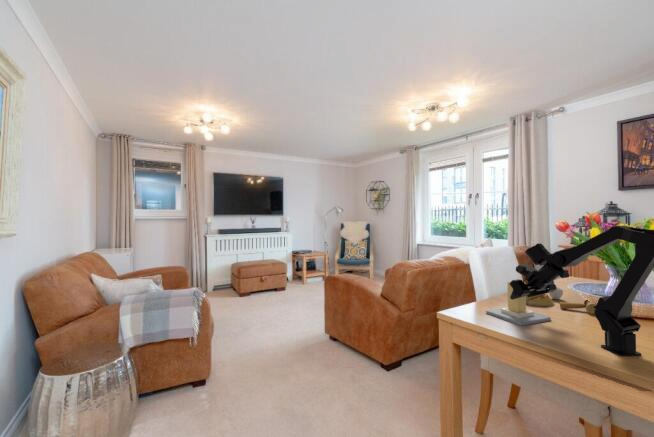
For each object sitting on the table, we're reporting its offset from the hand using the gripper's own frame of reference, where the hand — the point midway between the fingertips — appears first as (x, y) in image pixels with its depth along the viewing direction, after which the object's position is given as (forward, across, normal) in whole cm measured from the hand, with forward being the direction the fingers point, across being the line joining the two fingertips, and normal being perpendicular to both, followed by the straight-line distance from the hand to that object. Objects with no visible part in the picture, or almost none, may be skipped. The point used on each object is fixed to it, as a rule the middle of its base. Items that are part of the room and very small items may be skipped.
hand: (519, 297), depth 121 cm
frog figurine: (+15, -40, -3) cm, 43 cm away
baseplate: (+7, 0, +5) cm, 8 cm away
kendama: (+3, -33, +10) cm, 34 cm away
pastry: (+16, -26, -3) cm, 30 cm away
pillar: (+6, 0, +4) cm, 7 cm away
